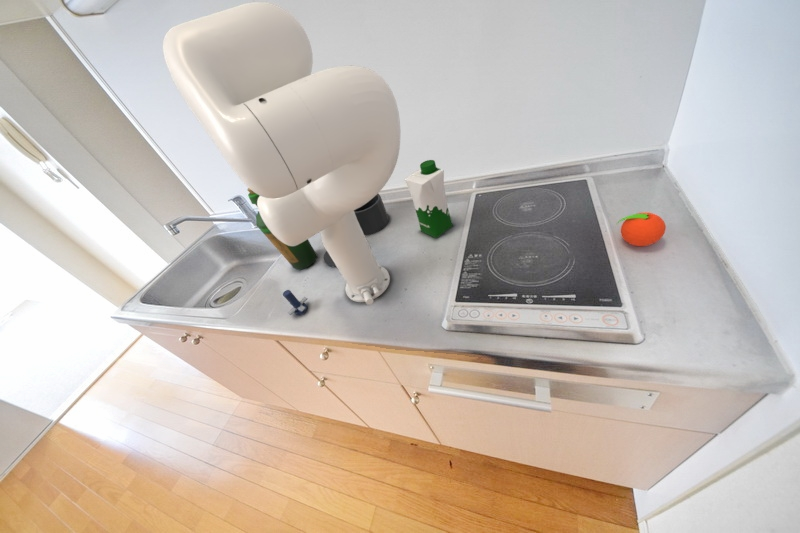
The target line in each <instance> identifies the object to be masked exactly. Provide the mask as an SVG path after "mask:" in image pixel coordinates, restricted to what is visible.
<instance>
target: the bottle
mask: <svg viewBox="0 0 800 533" xmlns="http://www.w3.org/2000/svg"><path fill="white" fill-rule="evenodd" d="M246 190H247V191H248V195H247V197H248V198H249V200H250V203H251V204H252V205H255V206H256V207H257V208H258V206H257V200H258V198H259V196H260V195H258V194H256V193H255V192H253V191H252V190H251V189H250V188H248V187H247V189H246ZM255 218H256V219H255V220H256V227H257V228H258V229H259V230H260V231H261V232H262V234H263V235H264V237H266V238H267V239H268V241H270V243H271V244H272V245H273V246H274V247H275V249H276V250H277V251H278V252H279V253H280V254H281V255H282V257H283V258H284V259H285V260H286V261H287V262H288V263H289V264H290V265H291V267H292V268H293V269H295V270H298V271H299V270H304V269H306V268H309V267H310V266H311V265H312V264H313V263H315V262H316V260H317V258H318V255H317V253H316V251H315V248H314V247H313V246H312V244H311V242H310V240H309V239H307V240H306V241H304V242H302V243H300V244H298V245H296V246H288V245H286V244H284V243H282V242H281V241H280V240H278V239H277V238H276V237H275V236H274V235H273V234H272V233H271V231H270V230H269V229H268V228H267V226H266V225H265V223H264V221H263V220H262V218H261V216H260V213H259V210H258V211H257V213H256V215H255Z"/></svg>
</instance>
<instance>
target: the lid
mask: <svg viewBox="0 0 800 533" xmlns="http://www.w3.org/2000/svg"><path fill="white" fill-rule="evenodd" d="M323 262H324V263H325V264H326V265H327V266H329V267H337V266H336V265H335V263H334V262H333V260H332V258H331V257H330V255H329V253H328V252H327V250H326V251H325V252H324V254H323Z"/></svg>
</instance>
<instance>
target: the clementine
mask: <svg viewBox="0 0 800 533" xmlns="http://www.w3.org/2000/svg"><path fill="white" fill-rule="evenodd" d="M622 221H623V222H622ZM620 222H622V224H621V227H620V235H621V238H622V239H623V240H624V241H625V242H626V243H628V244H630V245H632V246H636V247H647V246H650V245H653V244H656V243H657V242H658V241H660V240H661V239H662V237H663V236H664V235H665V234H666V222H665V221H664V220H663V219H662V217H661V216H660V215H657V214H656V213H652V212H638V213H634V214H632V215H628V216H627V215H626V216H625V217H623V218H621V219H620V220H618V221H617V224H619V223H620Z"/></svg>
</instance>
